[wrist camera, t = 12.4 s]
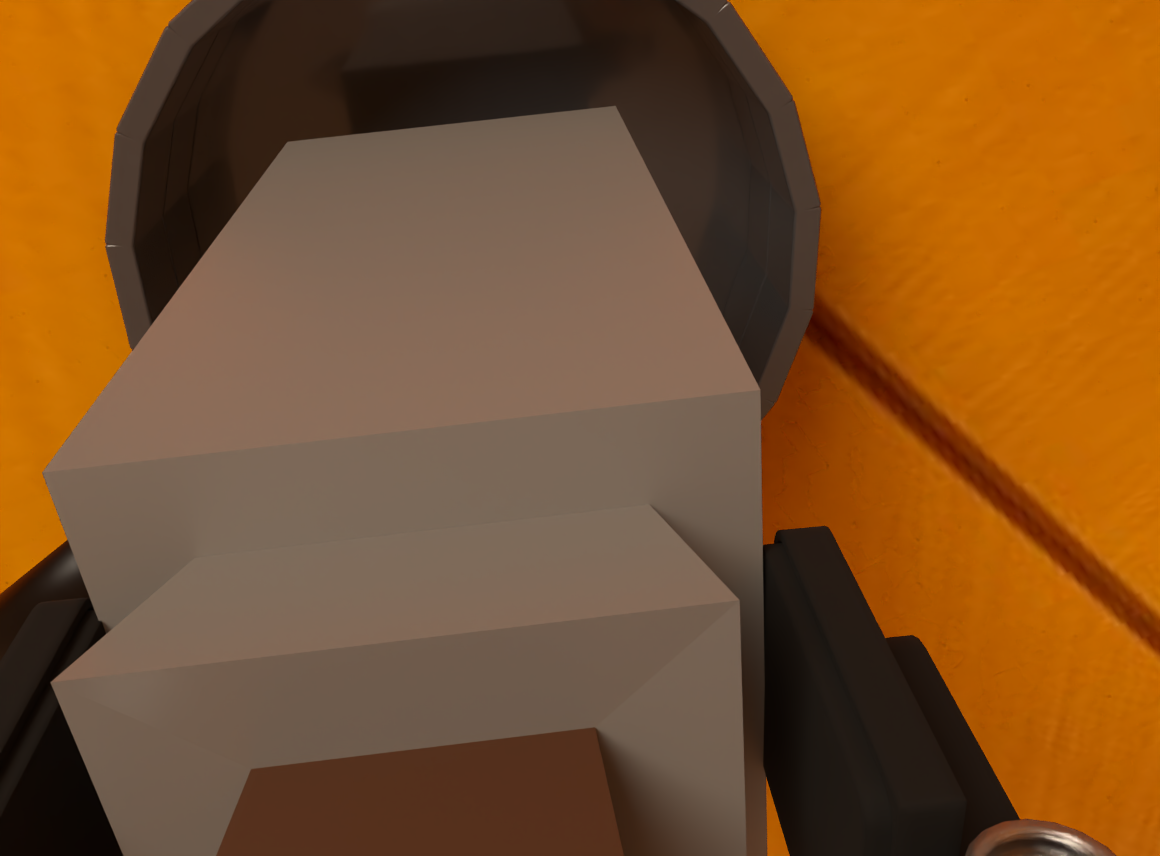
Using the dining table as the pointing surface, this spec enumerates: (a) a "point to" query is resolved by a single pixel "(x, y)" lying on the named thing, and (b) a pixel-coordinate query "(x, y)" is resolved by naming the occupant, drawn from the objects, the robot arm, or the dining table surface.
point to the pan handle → (39, 591)
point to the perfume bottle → (428, 519)
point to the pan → (465, 94)
